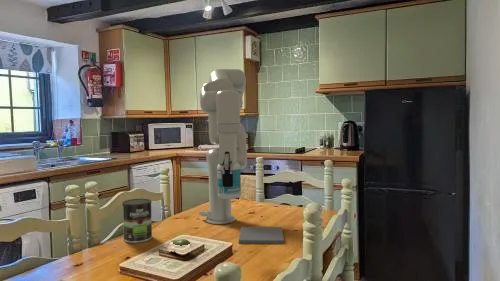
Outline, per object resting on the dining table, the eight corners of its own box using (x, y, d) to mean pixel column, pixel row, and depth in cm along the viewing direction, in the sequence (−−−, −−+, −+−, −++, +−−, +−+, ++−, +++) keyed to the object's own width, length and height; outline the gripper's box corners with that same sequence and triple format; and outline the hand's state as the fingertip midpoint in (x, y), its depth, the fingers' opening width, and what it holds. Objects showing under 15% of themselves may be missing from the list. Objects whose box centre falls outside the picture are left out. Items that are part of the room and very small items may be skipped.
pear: (179, 242, 117) (162, 240, 124) (182, 259, 117) (164, 256, 124) (193, 237, 121) (176, 236, 128) (195, 254, 121) (178, 251, 128)
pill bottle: (244, 195, 122) (244, 155, 120) (234, 200, 115) (233, 157, 114) (224, 193, 125) (224, 154, 124) (213, 198, 118) (212, 156, 117)
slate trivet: (238, 243, 132) (238, 240, 132) (241, 229, 148) (241, 226, 148) (283, 243, 131) (283, 240, 131) (281, 229, 147) (281, 226, 147)
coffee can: (155, 240, 136) (154, 202, 135) (126, 245, 131) (124, 205, 130) (149, 232, 145) (148, 197, 144) (121, 236, 140) (120, 200, 139)
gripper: (220, 128, 127) (220, 179, 128) (212, 130, 110) (213, 189, 111) (241, 128, 127) (242, 179, 128) (238, 130, 109) (238, 189, 111)
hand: (229, 183), depth 119 cm, fingers closed on pill bottle, 7 cm apart
